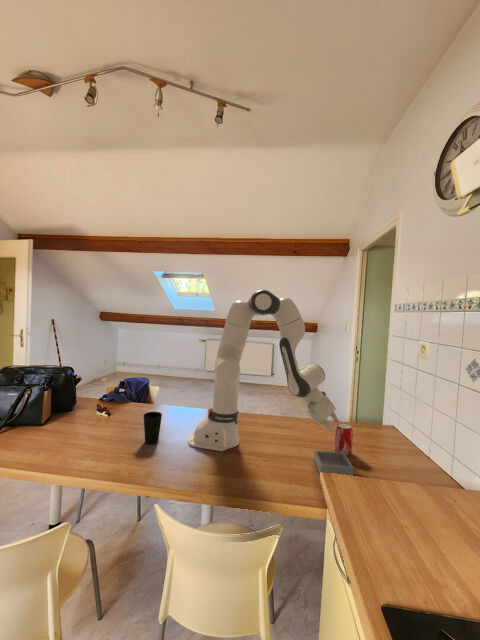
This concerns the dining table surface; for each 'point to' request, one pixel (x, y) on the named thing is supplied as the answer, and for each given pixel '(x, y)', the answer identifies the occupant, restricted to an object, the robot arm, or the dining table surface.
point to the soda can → (344, 438)
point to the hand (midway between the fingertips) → (335, 426)
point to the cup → (152, 427)
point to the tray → (333, 462)
